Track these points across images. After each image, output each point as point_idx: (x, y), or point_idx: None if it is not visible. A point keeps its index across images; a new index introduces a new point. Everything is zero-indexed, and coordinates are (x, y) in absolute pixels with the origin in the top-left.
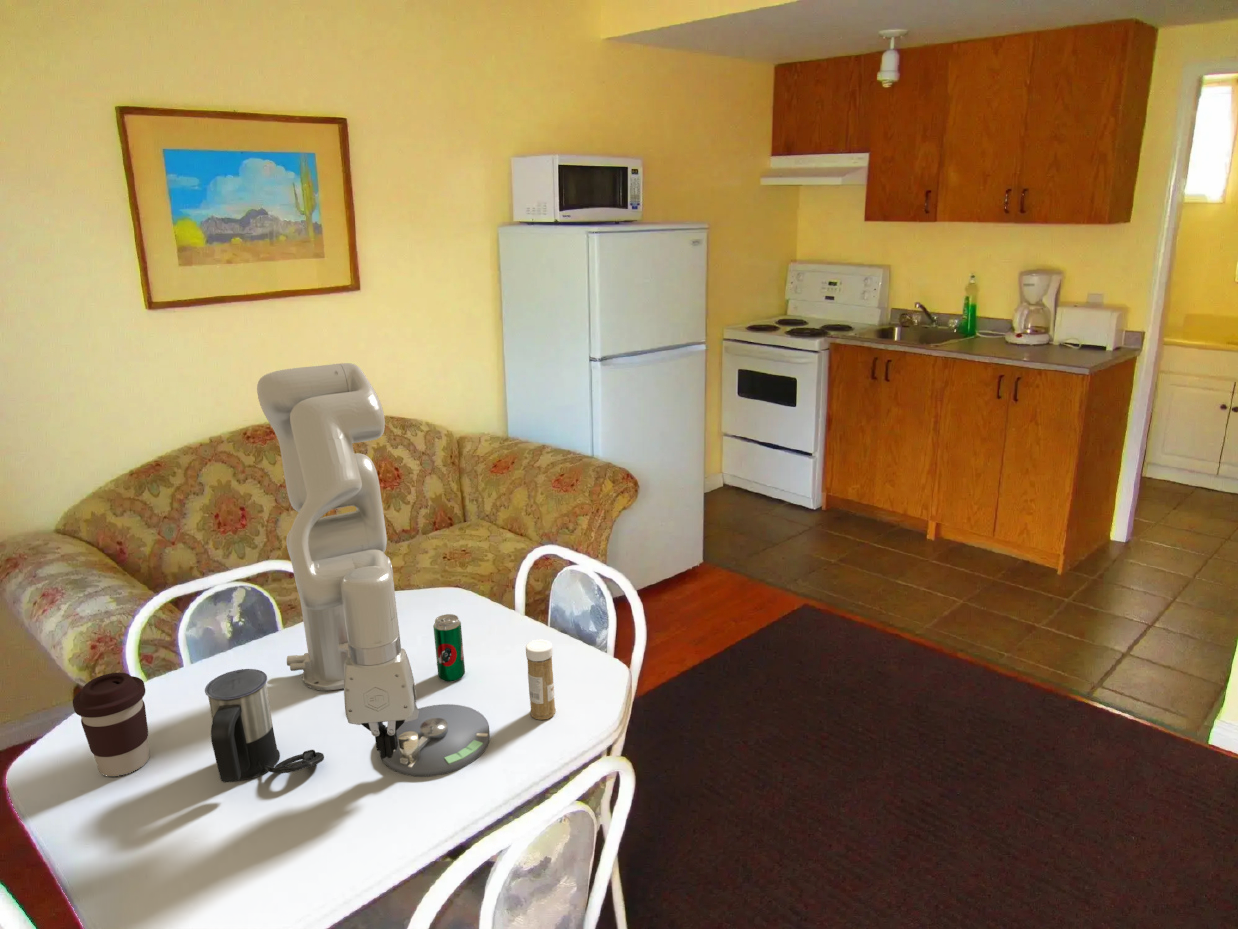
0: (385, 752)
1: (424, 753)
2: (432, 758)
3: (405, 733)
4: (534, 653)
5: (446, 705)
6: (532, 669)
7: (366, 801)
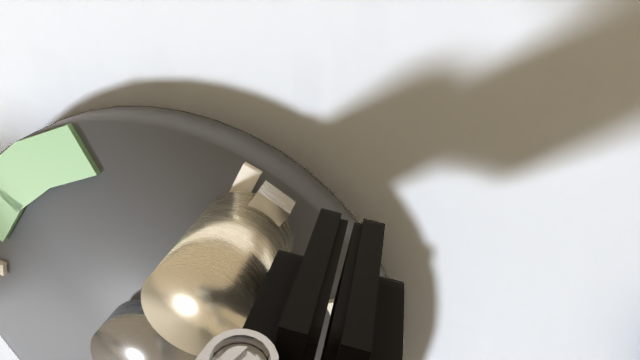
0: (349, 247)
1: None
2: (154, 193)
3: None
4: None
5: None
6: None
7: (502, 10)
